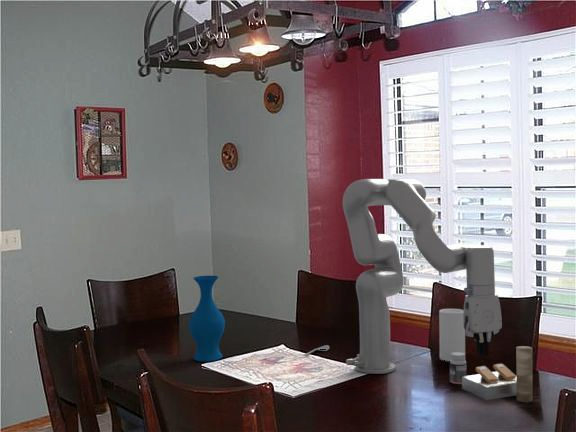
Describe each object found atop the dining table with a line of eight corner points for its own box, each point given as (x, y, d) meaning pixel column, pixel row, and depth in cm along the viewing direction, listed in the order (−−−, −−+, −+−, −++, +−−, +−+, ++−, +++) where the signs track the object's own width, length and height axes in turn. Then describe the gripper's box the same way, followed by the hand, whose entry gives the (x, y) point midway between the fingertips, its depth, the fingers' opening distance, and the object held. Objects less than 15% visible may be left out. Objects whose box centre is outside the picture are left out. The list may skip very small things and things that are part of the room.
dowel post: (523, 403, 174) (523, 350, 174) (513, 398, 178) (513, 347, 177) (535, 401, 176) (535, 348, 175) (525, 396, 179) (525, 345, 179)
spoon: (332, 350, 236) (332, 345, 236) (296, 362, 221) (296, 357, 220) (323, 348, 239) (323, 344, 239) (287, 360, 223) (287, 356, 223)
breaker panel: (487, 400, 177) (487, 383, 177) (462, 388, 187) (461, 373, 187) (528, 393, 182) (528, 377, 182) (502, 382, 193) (502, 367, 192)
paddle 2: (506, 379, 183) (507, 376, 182) (492, 367, 188) (493, 364, 187) (515, 378, 184) (515, 375, 183) (501, 366, 189) (502, 363, 188)
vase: (232, 355, 230) (230, 275, 229) (213, 365, 218) (211, 280, 217) (202, 352, 235) (200, 274, 234) (182, 361, 223) (180, 279, 222)
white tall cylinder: (465, 362, 215) (465, 313, 215) (440, 361, 217) (439, 312, 216) (464, 355, 223) (464, 308, 223) (439, 355, 225) (438, 308, 224)
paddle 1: (488, 382, 180) (489, 379, 180) (475, 370, 186) (476, 366, 185) (497, 381, 181) (498, 378, 181) (484, 368, 187) (484, 365, 186)
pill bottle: (447, 379, 196) (447, 352, 196) (463, 379, 197) (462, 351, 196) (452, 384, 192) (452, 356, 191) (468, 383, 192) (468, 355, 192)
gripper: (466, 294, 178) (469, 361, 179) (511, 289, 184) (513, 355, 184) (450, 291, 185) (452, 356, 186) (493, 286, 191) (495, 349, 191)
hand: (482, 355), depth 185 cm, fingers closed
